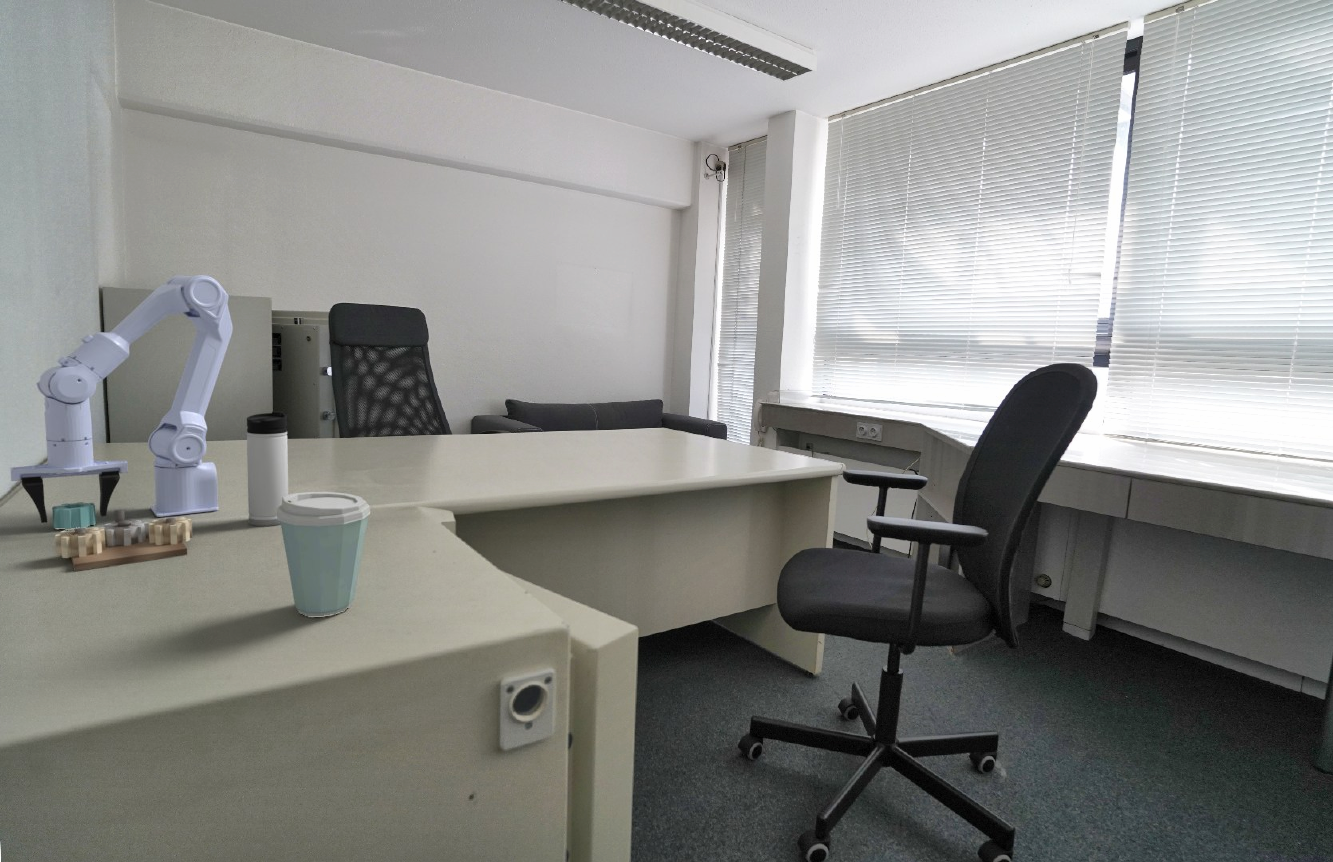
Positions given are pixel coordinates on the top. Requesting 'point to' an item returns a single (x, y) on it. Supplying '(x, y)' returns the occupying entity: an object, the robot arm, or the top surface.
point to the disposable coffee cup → (323, 548)
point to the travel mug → (266, 466)
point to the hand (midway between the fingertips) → (74, 518)
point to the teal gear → (74, 515)
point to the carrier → (124, 542)
